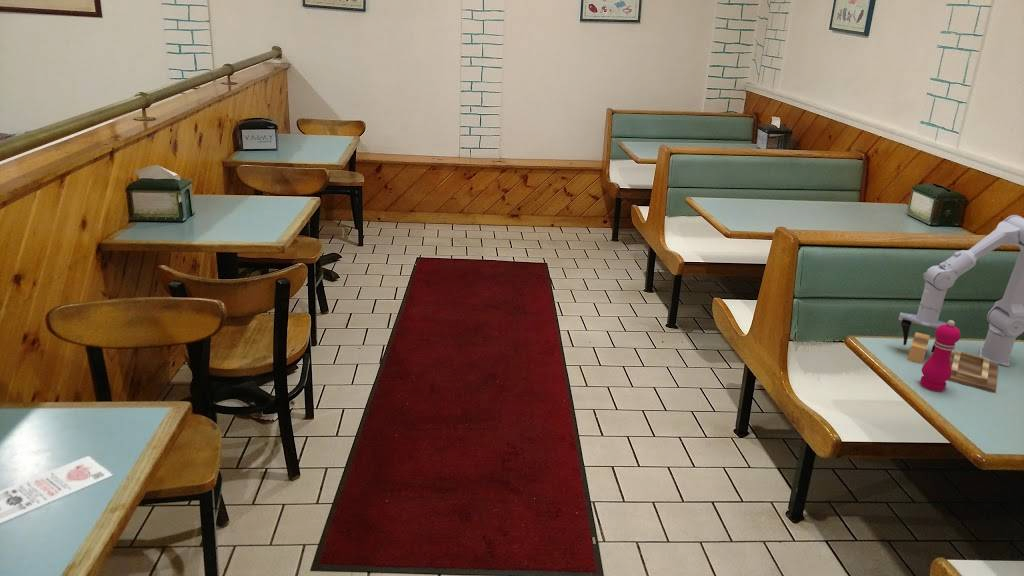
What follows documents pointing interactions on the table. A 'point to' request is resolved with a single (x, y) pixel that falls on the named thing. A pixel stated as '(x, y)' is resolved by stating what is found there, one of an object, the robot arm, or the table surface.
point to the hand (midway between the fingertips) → (918, 347)
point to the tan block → (918, 347)
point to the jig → (973, 371)
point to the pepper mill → (940, 358)
